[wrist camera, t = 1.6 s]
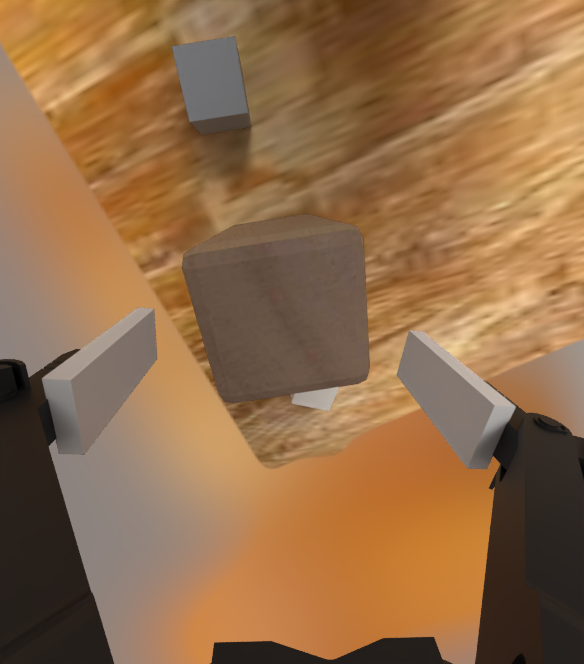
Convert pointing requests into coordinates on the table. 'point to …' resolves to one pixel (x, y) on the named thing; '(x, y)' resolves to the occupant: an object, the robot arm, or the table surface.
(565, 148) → the table surface
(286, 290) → the block
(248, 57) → the table surface
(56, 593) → the robot arm
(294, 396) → the white cube
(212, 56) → the slate cube
